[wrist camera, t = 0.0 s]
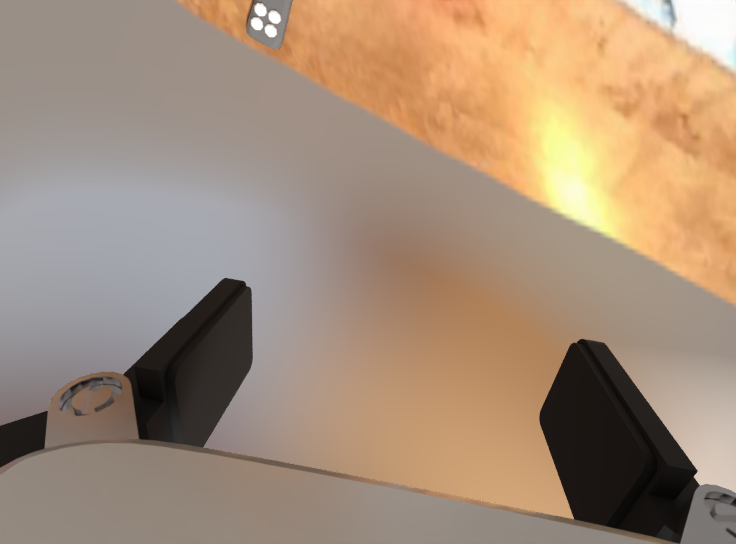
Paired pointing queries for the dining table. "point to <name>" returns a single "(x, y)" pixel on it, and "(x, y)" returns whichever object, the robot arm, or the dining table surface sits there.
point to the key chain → (269, 21)
